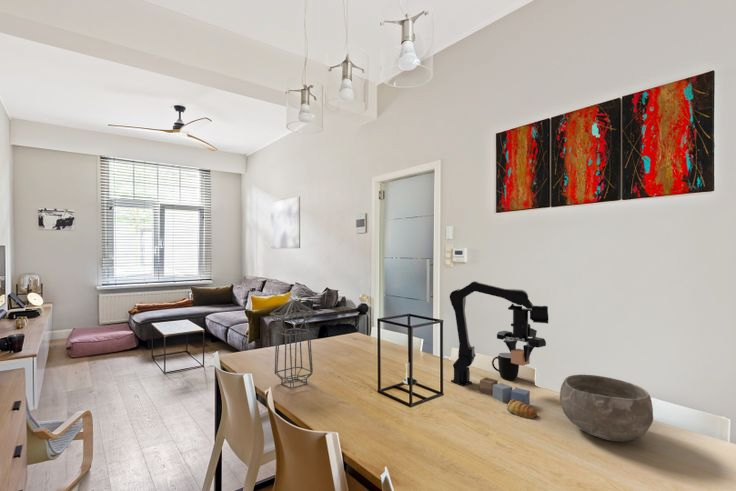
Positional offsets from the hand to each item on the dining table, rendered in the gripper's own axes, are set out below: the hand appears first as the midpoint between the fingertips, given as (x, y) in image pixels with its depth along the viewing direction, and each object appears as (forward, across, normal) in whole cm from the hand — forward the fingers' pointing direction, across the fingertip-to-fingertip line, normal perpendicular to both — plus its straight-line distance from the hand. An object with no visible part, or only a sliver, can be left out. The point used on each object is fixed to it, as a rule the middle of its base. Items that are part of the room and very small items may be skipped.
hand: (520, 360), depth 153 cm
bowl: (+13, -36, +11) cm, 40 cm away
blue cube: (+13, -8, +12) cm, 19 cm away
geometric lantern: (+13, +58, +73) cm, 94 cm away
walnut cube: (+13, +6, +12) cm, 18 cm away
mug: (+13, +14, -10) cm, 21 cm away
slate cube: (+13, -1, +13) cm, 18 cm away
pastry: (+13, -12, +18) cm, 26 cm away
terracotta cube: (+1, 0, 0) cm, 1 cm away
